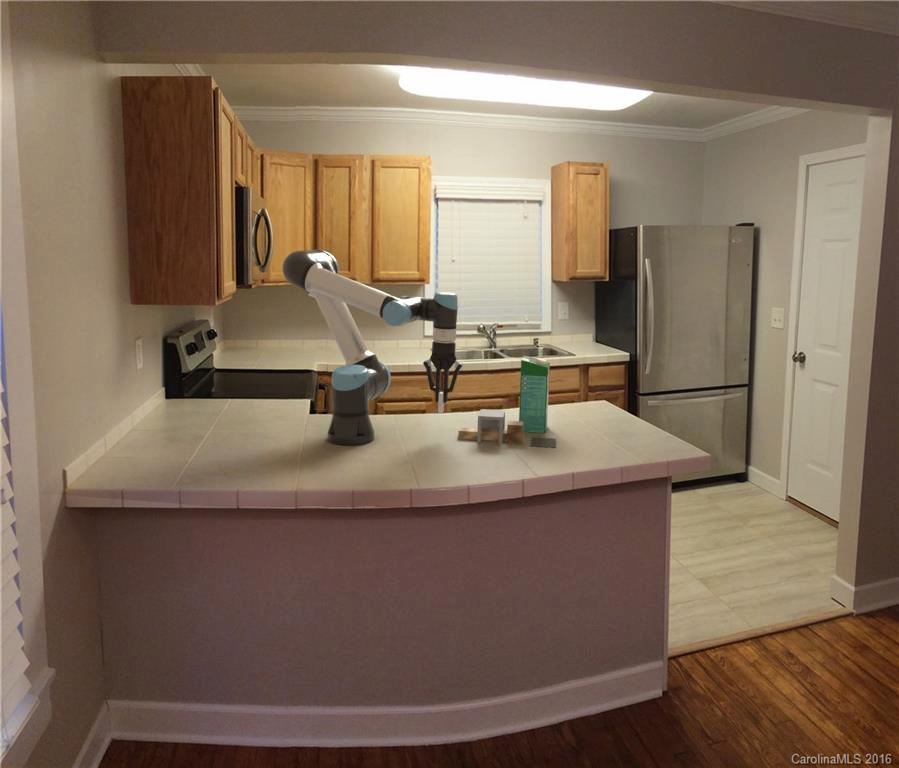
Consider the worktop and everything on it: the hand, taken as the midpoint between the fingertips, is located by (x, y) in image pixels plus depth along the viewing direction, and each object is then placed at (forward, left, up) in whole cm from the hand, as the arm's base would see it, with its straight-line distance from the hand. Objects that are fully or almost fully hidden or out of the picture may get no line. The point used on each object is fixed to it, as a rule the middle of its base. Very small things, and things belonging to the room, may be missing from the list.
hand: (440, 411), depth 236 cm
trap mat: (+34, 0, -9) cm, 35 cm away
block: (+25, 0, -9) cm, 26 cm away
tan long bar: (+14, +1, -9) cm, 17 cm away
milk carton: (+30, +16, -9) cm, 35 cm away
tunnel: (+17, 0, -9) cm, 19 cm away
